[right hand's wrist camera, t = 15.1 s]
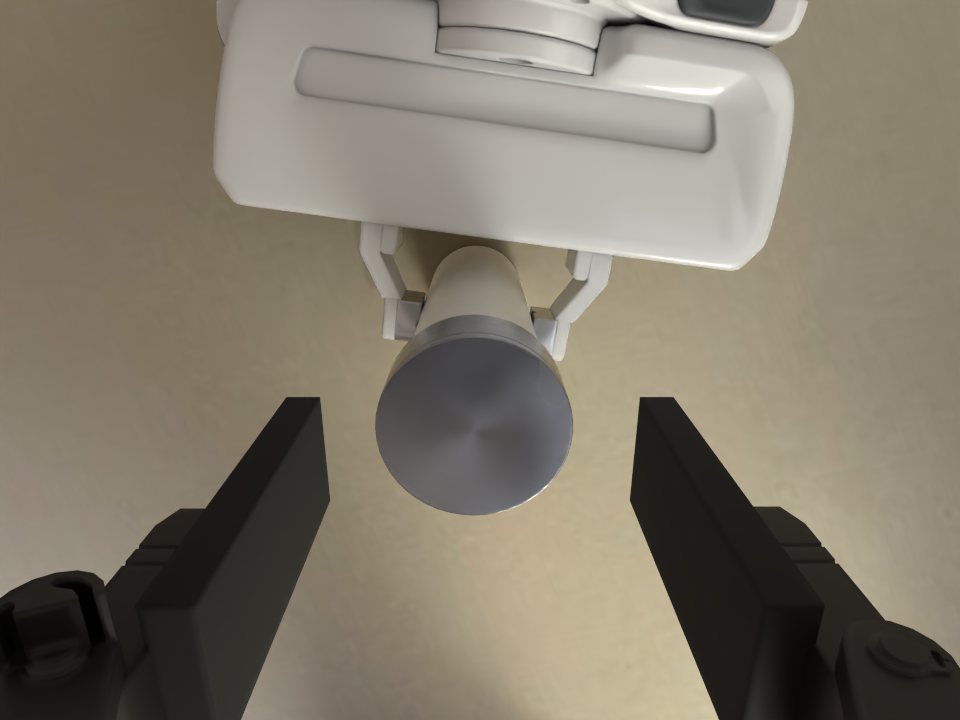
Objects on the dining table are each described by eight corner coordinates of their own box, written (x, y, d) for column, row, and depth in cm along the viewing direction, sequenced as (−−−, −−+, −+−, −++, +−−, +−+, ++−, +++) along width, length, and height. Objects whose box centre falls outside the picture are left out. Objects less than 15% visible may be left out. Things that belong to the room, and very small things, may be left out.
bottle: (425, 250, 31) (376, 353, 16) (516, 240, 30) (552, 334, 16) (437, 336, 32) (403, 504, 17) (523, 327, 32) (563, 488, 17)
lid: (372, 324, 17) (358, 348, 15) (556, 304, 17) (566, 326, 15) (401, 484, 19) (391, 524, 17) (567, 467, 19) (578, 506, 17)
